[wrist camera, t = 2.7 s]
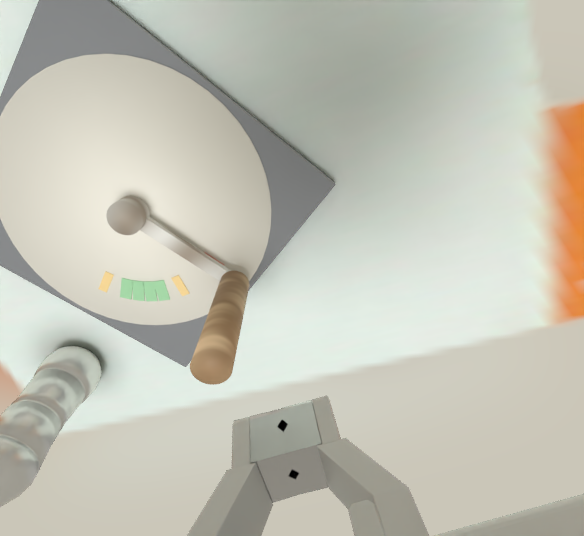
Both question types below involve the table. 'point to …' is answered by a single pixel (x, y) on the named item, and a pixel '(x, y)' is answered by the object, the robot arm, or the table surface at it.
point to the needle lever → (227, 301)
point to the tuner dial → (136, 175)
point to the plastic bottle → (42, 415)
